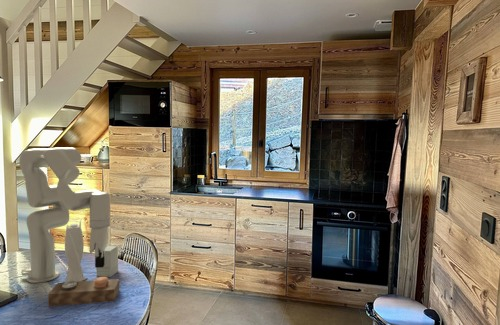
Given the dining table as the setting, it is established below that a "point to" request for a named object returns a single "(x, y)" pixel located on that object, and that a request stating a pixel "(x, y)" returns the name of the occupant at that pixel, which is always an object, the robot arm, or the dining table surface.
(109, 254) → the supplement box
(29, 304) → the dining table surface
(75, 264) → the skyscraper
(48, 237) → the robot arm
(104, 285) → the terracotta plug
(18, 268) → the dining table surface
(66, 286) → the plug
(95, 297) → the plug block
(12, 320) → the dining table surface
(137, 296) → the dining table surface
